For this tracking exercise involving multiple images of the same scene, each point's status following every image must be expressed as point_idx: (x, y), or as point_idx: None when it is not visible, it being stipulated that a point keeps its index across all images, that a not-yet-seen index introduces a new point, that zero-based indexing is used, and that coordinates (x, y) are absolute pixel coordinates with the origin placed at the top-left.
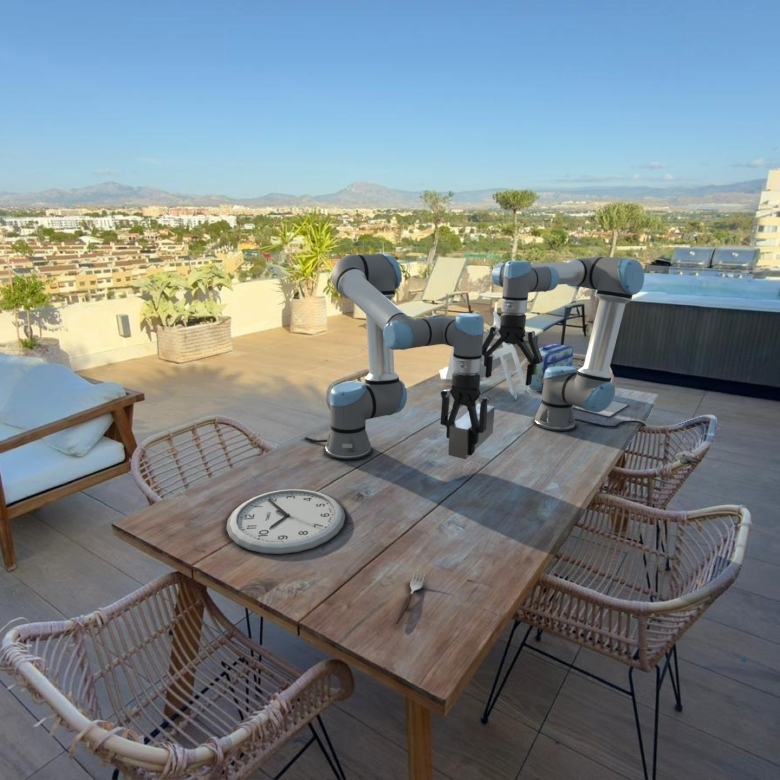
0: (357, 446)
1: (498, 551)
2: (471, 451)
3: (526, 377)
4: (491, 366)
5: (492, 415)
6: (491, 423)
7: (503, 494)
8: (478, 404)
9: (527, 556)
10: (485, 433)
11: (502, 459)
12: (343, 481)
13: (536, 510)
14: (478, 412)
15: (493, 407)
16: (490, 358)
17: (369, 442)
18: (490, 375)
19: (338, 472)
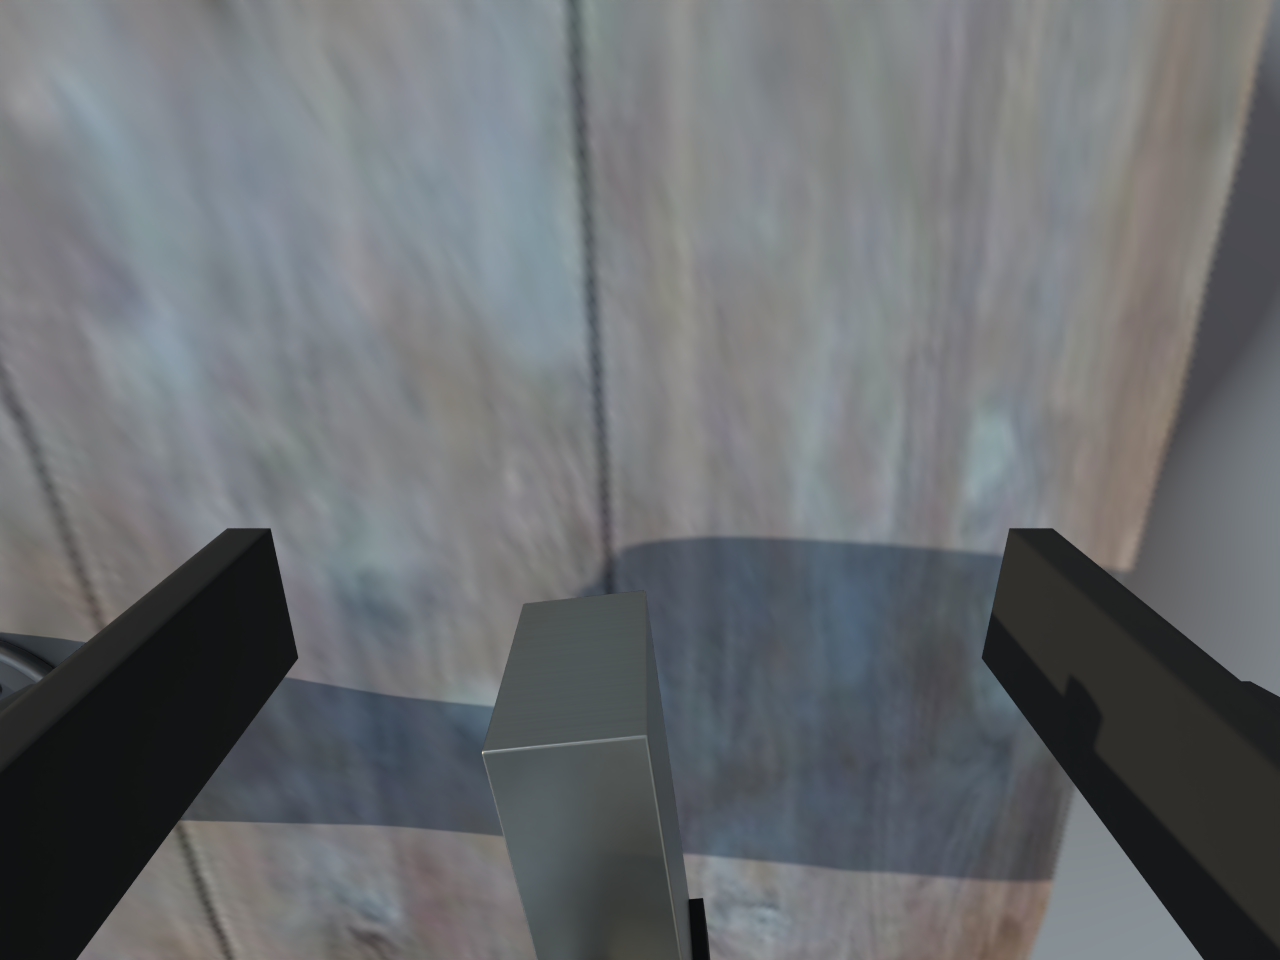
0: None
1: (917, 941)
2: (709, 954)
3: (1055, 752)
4: (156, 656)
5: (653, 724)
6: (652, 685)
7: (806, 660)
8: (496, 774)
9: (1002, 919)
10: (666, 760)
11: (643, 318)
12: (241, 908)
13: (967, 693)
14: (608, 920)
15: (650, 762)
16: (10, 925)
17: (2, 685)
18: (267, 565)
19: (162, 874)
